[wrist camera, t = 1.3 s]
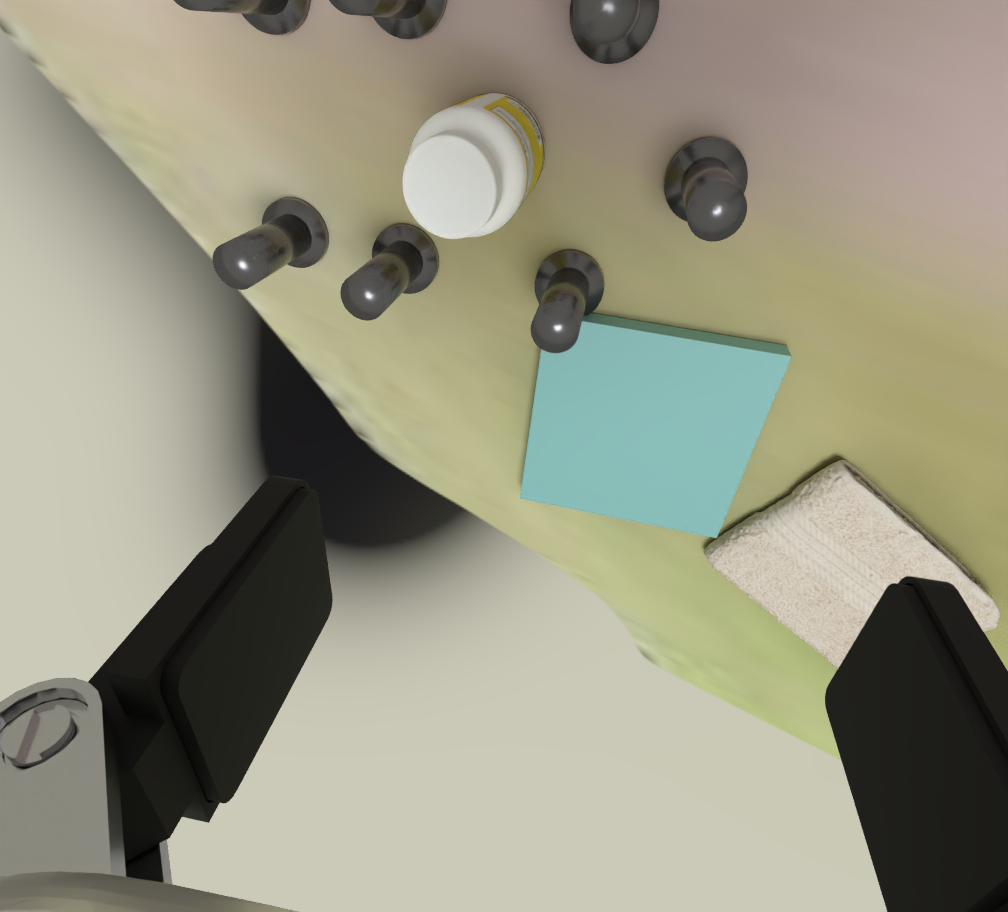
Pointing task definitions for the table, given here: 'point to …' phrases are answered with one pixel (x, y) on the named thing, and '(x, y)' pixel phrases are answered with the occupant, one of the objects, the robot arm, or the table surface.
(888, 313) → the table surface
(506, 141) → the supplement bottle
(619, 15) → the spacer field
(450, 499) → the table surface
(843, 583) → the washcloth
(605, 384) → the teal pad
